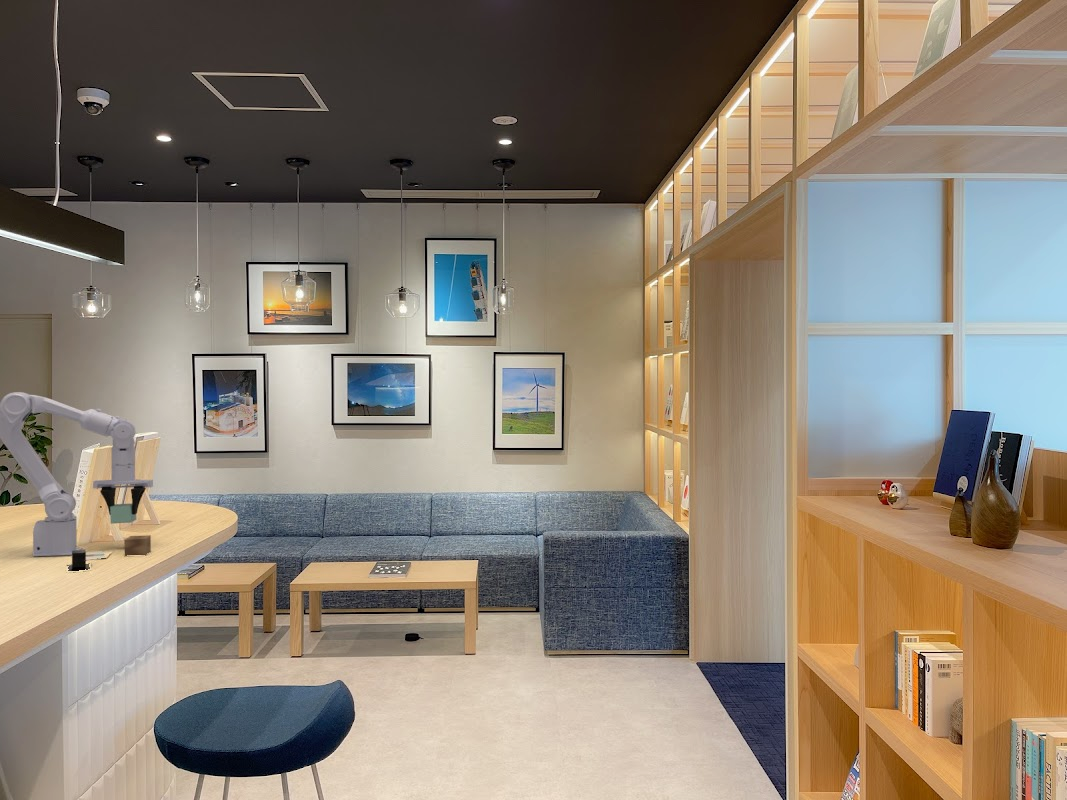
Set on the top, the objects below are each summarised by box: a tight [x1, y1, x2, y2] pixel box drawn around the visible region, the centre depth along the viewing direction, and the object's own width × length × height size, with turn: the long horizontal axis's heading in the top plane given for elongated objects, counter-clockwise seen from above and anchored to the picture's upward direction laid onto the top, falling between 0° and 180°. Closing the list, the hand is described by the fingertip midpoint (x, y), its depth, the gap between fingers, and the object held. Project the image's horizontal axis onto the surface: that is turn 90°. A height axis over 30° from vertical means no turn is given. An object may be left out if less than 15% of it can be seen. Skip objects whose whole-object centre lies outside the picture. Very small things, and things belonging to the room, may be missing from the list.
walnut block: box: [123, 534, 152, 557], centre depth 207 cm, size 5×5×4 cm
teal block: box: [109, 503, 137, 525], centre depth 213 cm, size 5×5×4 cm
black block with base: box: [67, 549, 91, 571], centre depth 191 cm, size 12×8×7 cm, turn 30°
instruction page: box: [86, 550, 109, 561], centre depth 204 cm, size 7×10×1 cm
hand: (123, 514), depth 213 cm, fingers closed on teal block, 5 cm apart
